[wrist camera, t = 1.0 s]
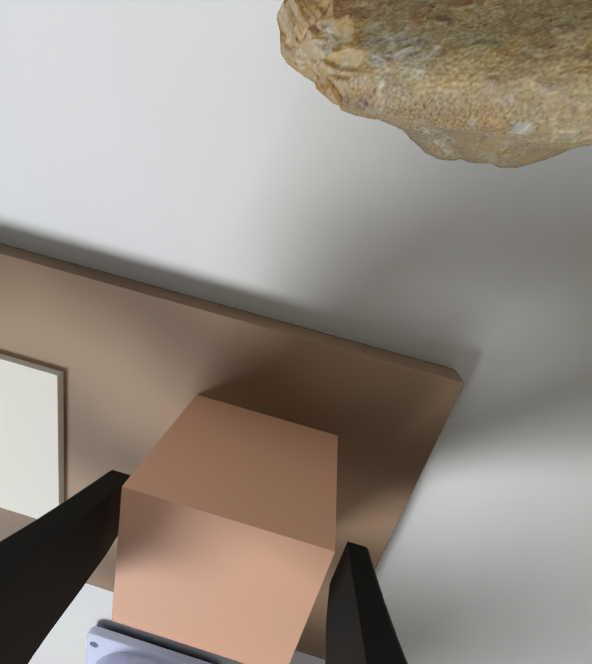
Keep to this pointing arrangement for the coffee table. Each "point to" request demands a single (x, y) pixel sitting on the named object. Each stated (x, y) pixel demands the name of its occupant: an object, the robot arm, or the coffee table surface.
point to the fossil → (453, 71)
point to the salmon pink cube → (228, 532)
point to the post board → (218, 391)
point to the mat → (31, 437)
